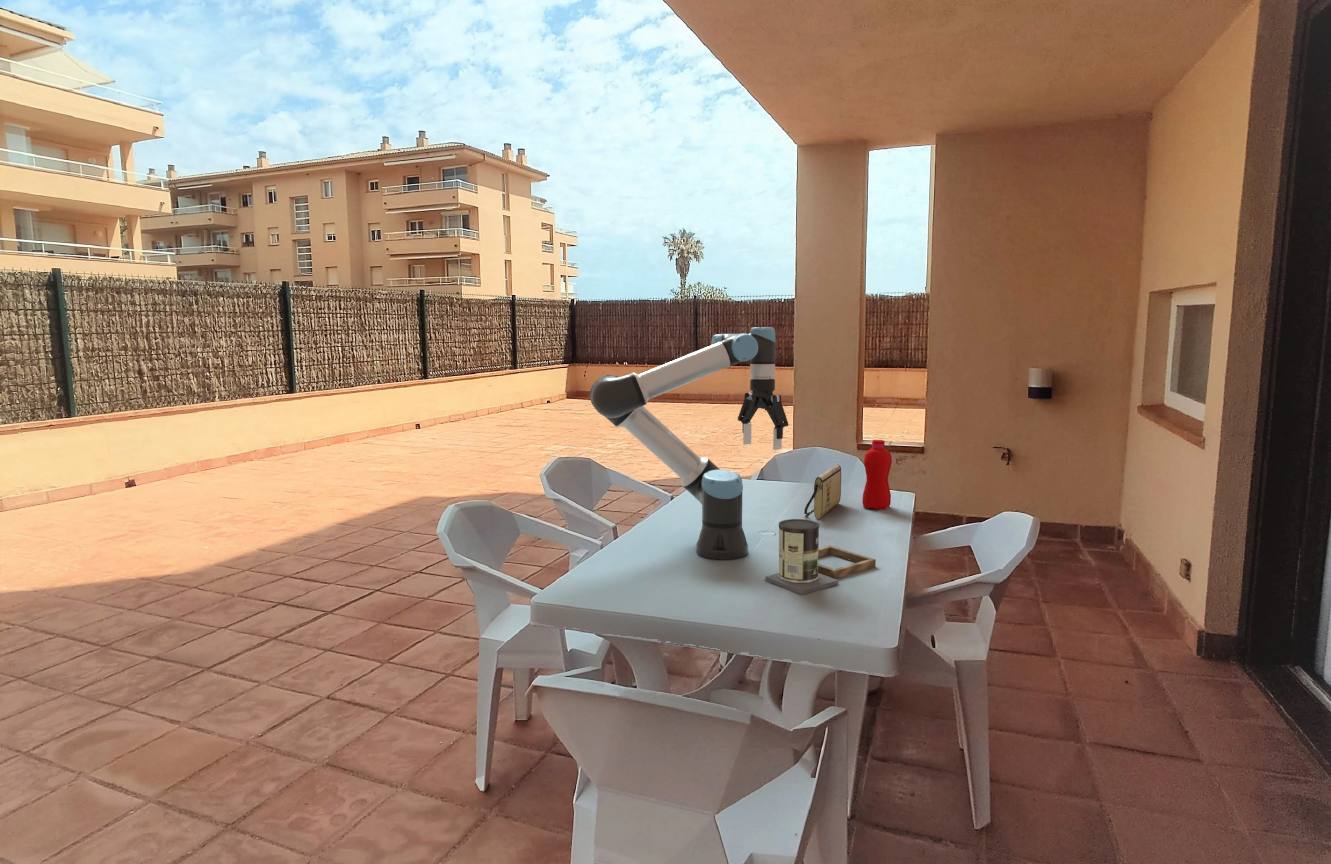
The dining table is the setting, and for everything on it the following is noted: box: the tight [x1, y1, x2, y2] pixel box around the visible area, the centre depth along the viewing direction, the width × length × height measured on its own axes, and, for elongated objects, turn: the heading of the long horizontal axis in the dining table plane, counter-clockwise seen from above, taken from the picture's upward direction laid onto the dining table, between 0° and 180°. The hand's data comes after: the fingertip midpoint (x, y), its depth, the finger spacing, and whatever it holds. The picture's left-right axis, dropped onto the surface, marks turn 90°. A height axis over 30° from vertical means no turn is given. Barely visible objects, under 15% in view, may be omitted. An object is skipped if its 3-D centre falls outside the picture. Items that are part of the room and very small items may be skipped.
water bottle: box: [861, 439, 893, 511], centre depth 263 cm, size 9×11×25 cm
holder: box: [818, 545, 877, 579], centre depth 199 cm, size 16×16×2 cm
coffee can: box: [778, 518, 820, 583], centre depth 185 cm, size 10×10×14 cm
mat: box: [764, 572, 839, 595], centre depth 185 cm, size 13×13×1 cm
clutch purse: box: [803, 464, 842, 520], centre depth 258 cm, size 30×7×15 cm, turn 152°
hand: (761, 446), depth 223 cm, fingers open, 13 cm apart
